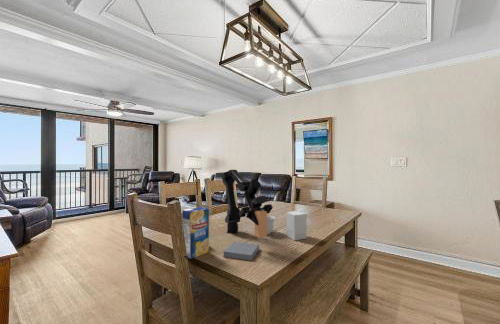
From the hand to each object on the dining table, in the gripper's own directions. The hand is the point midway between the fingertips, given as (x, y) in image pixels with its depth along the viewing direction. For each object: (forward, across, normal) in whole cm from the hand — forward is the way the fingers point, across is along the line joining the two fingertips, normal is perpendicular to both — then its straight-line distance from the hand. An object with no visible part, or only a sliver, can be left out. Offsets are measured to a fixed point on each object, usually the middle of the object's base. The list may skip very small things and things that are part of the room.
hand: (262, 224), depth 119 cm
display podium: (+8, -11, +11) cm, 17 cm away
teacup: (-7, +19, +26) cm, 33 cm away
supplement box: (+5, +29, +14) cm, 33 cm away
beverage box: (+1, -31, +19) cm, 36 cm away
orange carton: (+4, 0, +6) cm, 7 cm away
